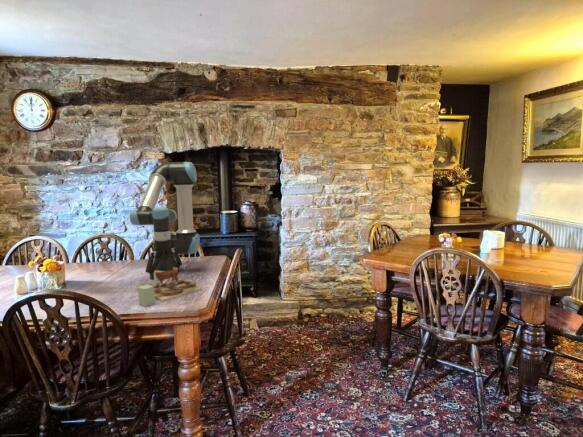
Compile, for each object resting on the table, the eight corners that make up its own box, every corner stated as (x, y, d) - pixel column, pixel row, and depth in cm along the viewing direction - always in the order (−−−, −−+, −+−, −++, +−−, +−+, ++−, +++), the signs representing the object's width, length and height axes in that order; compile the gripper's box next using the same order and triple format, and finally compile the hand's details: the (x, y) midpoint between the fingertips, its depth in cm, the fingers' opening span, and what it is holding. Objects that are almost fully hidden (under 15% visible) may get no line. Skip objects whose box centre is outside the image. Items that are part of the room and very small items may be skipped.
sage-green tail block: (139, 304, 180) (137, 287, 178) (149, 301, 183) (148, 284, 182) (144, 306, 176) (143, 289, 175) (154, 303, 180) (153, 286, 179)
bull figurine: (150, 285, 194) (149, 269, 193) (179, 282, 198) (178, 266, 197) (151, 288, 190) (149, 271, 189) (179, 284, 194) (178, 268, 193)
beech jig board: (140, 293, 195) (140, 288, 195) (179, 282, 212) (179, 278, 211) (162, 301, 182) (162, 296, 182) (201, 289, 199) (201, 284, 198)
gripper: (143, 244, 180) (147, 290, 183) (187, 236, 198) (190, 278, 200) (135, 242, 185) (139, 287, 188) (179, 235, 202) (181, 276, 205)
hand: (165, 283), depth 194 cm, fingers closed on bull figurine, 11 cm apart
